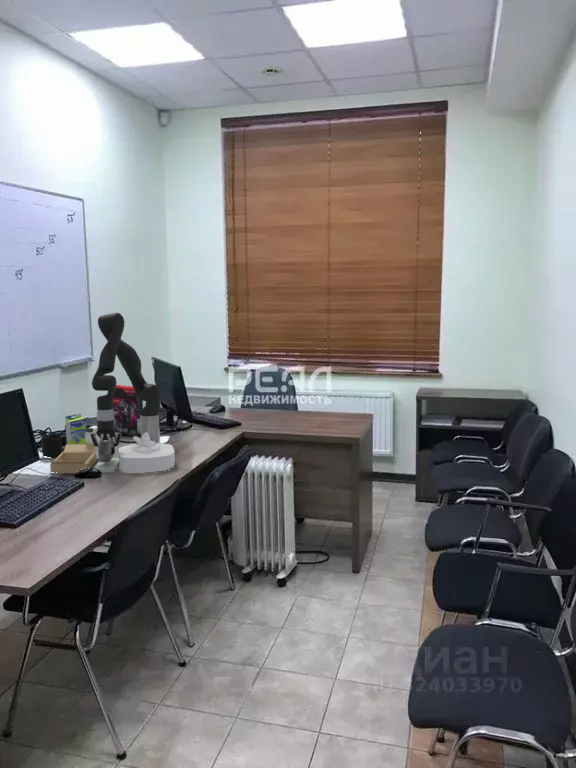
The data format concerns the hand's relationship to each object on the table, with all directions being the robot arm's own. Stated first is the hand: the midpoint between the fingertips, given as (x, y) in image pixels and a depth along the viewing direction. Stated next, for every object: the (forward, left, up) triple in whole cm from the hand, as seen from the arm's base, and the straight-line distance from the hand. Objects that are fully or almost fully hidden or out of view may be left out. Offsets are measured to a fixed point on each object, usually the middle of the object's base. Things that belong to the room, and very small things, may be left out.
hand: (106, 454), depth 289 cm
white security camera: (+9, -19, -6) cm, 22 cm away
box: (+22, -34, -6) cm, 41 cm away
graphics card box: (+1, -63, -6) cm, 63 cm away
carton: (+15, 0, -6) cm, 16 cm away
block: (0, 0, -2) cm, 2 cm away
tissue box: (-18, -2, -6) cm, 19 cm away
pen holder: (+30, -19, -6) cm, 36 cm away
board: (0, 0, -6) cm, 6 cm away
